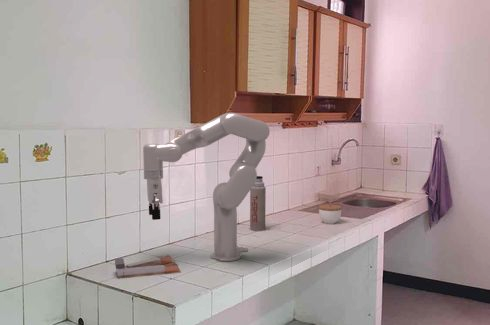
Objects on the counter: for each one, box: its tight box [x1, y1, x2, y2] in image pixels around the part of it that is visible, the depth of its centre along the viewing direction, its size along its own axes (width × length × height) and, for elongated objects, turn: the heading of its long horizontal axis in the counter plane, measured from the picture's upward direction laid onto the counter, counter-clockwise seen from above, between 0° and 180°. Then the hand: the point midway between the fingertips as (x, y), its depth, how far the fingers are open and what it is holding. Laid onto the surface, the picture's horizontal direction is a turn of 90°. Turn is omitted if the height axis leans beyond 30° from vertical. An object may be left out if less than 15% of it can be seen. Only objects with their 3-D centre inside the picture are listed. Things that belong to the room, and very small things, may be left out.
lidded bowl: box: [318, 202, 343, 225], centre depth 278 cm, size 13×13×11 cm
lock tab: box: [114, 258, 126, 270], centre depth 184 cm, size 3×7×2 cm, turn 18°
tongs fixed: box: [116, 263, 179, 278], centre depth 187 cm, size 22×7×3 cm, turn 108°
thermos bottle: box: [249, 175, 267, 232], centre depth 260 cm, size 8×8×28 cm
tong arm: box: [125, 254, 173, 268], centre depth 193 cm, size 19×3×2 cm, turn 133°
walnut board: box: [115, 260, 182, 279], centre depth 190 cm, size 23×15×1 cm, turn 108°
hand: (154, 217), depth 201 cm, fingers open, 9 cm apart
